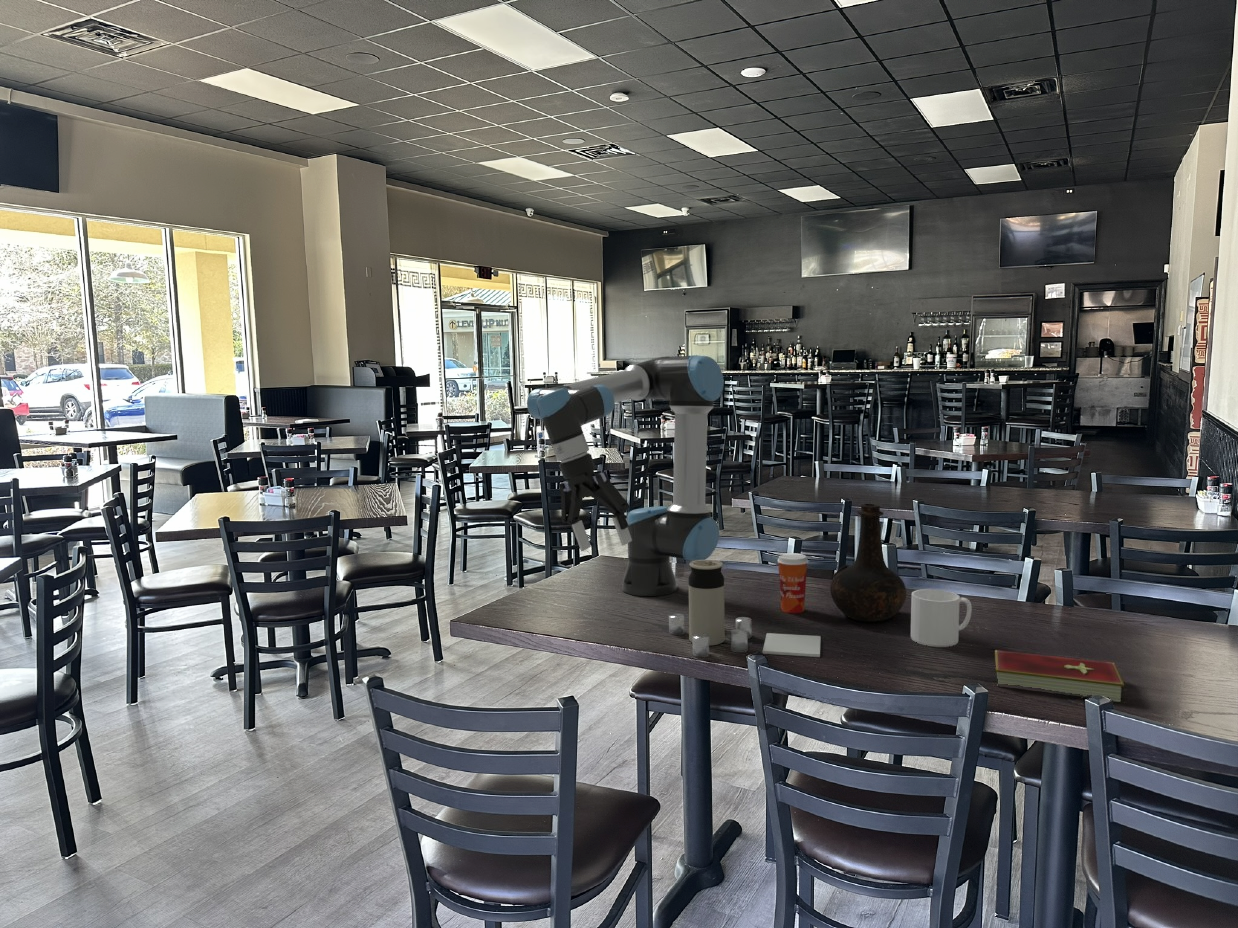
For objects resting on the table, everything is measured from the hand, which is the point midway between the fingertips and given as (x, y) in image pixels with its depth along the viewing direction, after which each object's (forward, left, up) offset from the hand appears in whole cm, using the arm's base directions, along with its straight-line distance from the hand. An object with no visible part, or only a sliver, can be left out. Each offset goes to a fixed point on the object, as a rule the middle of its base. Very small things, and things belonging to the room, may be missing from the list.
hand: (606, 546), depth 184 cm
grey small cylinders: (-5, +22, -22) cm, 32 cm away
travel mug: (-5, +22, -22) cm, 32 cm away
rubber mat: (-5, +41, -22) cm, 47 cm away
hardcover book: (+7, +91, -23) cm, 94 cm away
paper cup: (-32, +40, -22) cm, 56 cm away
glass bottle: (-30, +58, -22) cm, 69 cm away
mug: (-15, +73, -23) cm, 78 cm away
